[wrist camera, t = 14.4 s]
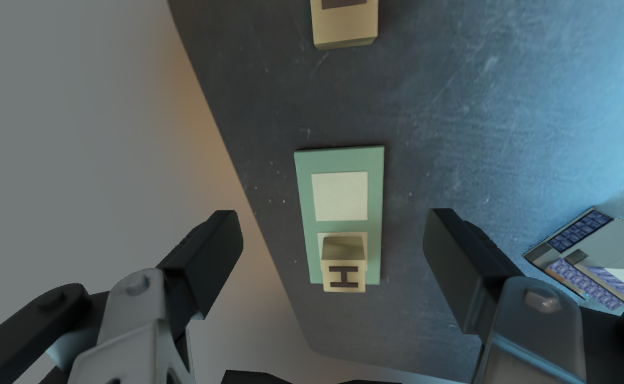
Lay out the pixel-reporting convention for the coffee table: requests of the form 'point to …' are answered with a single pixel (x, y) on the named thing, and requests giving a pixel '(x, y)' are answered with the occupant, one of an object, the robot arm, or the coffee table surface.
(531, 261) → the building
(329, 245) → the light wooden cube
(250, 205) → the coffee table surface
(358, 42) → the tan cube
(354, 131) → the coffee table surface
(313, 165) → the word board
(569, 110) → the coffee table surface
